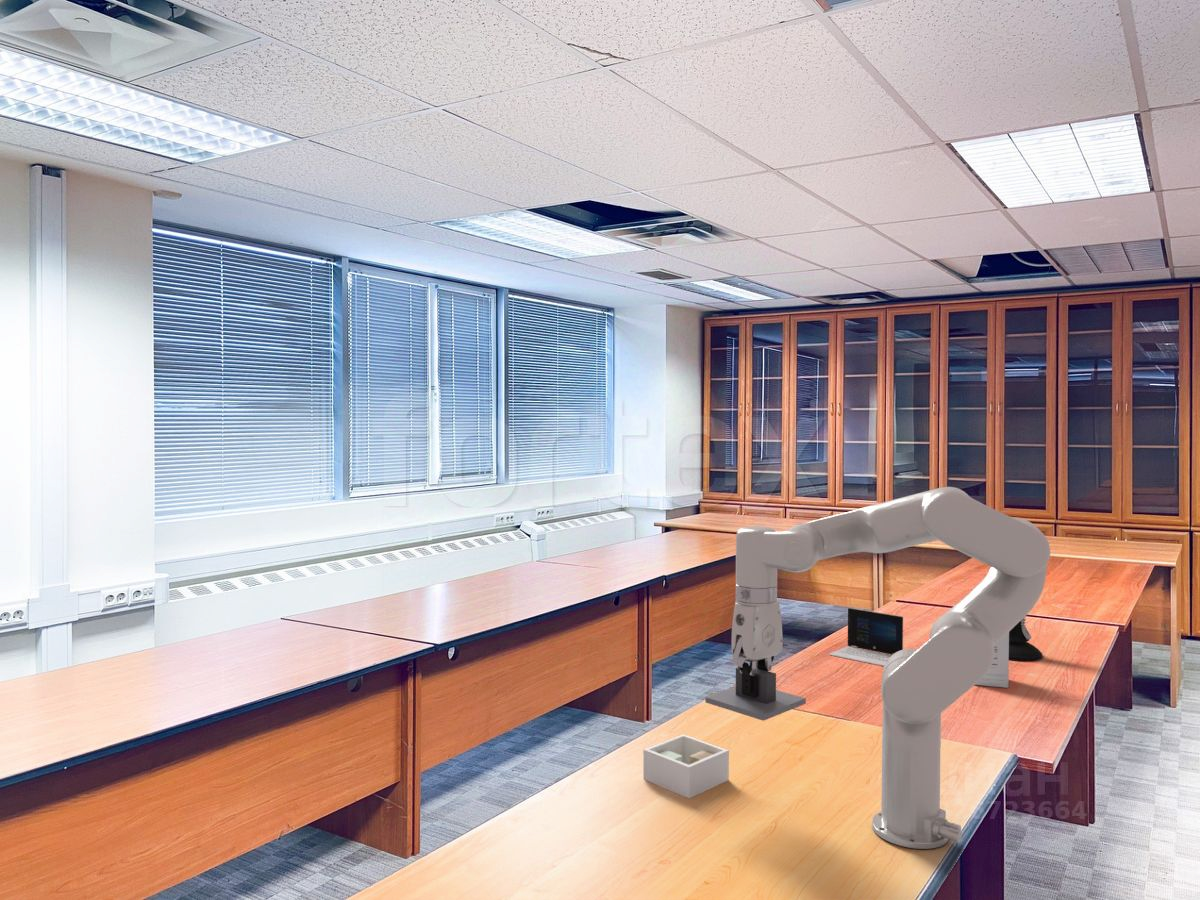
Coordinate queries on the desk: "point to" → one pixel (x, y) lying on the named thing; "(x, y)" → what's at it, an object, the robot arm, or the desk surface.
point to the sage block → (673, 755)
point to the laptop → (872, 637)
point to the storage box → (686, 766)
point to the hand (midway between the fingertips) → (755, 692)
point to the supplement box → (998, 665)
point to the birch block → (699, 756)
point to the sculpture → (1022, 644)
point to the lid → (757, 698)
